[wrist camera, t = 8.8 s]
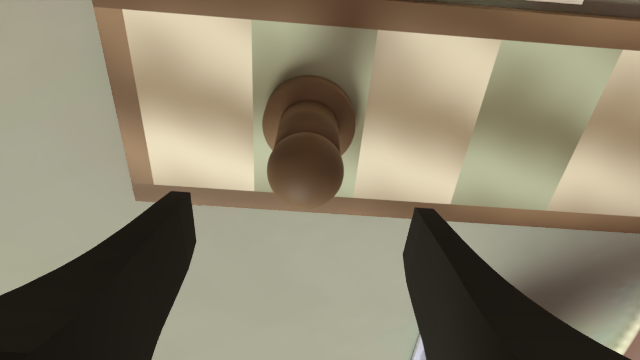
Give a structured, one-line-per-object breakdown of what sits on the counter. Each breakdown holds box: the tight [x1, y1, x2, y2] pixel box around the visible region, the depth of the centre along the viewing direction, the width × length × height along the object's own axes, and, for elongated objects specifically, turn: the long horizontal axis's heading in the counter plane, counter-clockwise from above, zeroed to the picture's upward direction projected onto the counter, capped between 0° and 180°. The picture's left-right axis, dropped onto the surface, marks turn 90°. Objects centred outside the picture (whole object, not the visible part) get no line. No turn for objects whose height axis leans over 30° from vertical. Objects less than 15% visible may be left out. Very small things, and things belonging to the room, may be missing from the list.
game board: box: [92, 0, 640, 234], centre depth 20 cm, size 11×30×1 cm, turn 86°
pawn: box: [262, 75, 355, 209], centre depth 17 cm, size 4×4×6 cm
